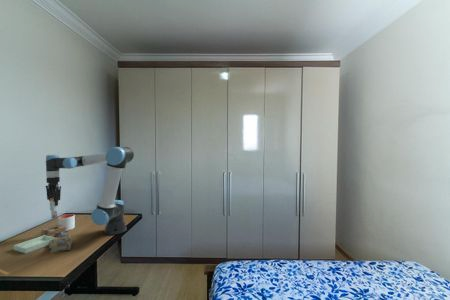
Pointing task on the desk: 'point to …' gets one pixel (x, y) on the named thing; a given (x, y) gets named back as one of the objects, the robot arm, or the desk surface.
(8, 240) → the desk surface
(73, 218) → the cup
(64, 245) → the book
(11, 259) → the desk surface
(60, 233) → the block
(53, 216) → the lock pin
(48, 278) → the desk surface
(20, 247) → the tray
